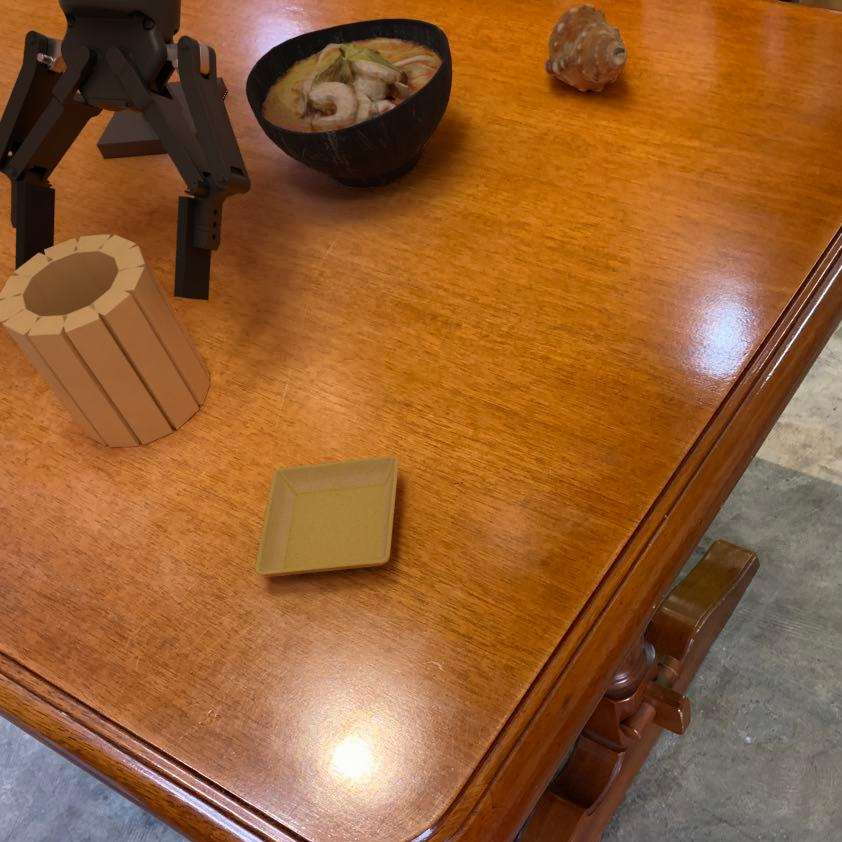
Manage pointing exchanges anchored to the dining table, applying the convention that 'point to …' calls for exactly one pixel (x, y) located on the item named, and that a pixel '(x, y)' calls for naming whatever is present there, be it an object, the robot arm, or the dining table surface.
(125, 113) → the metal peg stand
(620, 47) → the seashell
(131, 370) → the slatted pencil cup
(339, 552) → the saucer
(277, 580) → the dining table surface
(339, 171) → the bowl
